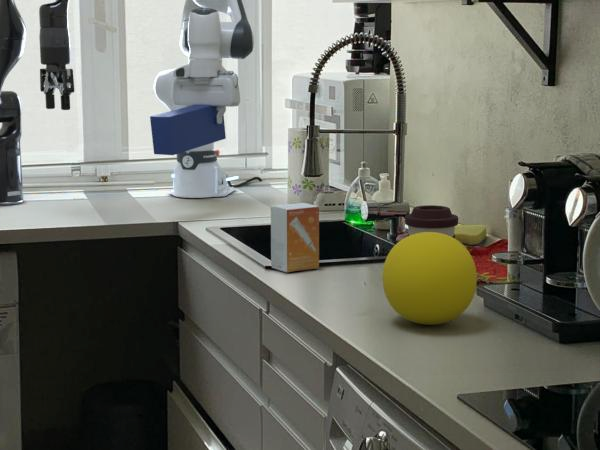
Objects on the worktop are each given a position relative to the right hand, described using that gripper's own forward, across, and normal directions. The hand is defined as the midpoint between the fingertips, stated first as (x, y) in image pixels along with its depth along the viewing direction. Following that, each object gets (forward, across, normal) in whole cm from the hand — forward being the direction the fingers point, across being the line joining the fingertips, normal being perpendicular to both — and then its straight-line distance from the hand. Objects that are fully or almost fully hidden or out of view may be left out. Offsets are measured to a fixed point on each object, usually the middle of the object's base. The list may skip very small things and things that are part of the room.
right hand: (206, 123), depth 278 cm
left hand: (-4, +28, +26) cm, 39 cm away
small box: (+26, -56, +45) cm, 76 cm away
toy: (+26, -98, +70) cm, 124 cm away
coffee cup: (+26, -87, +46) cm, 102 cm away
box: (+6, 0, +7) cm, 9 cm away
